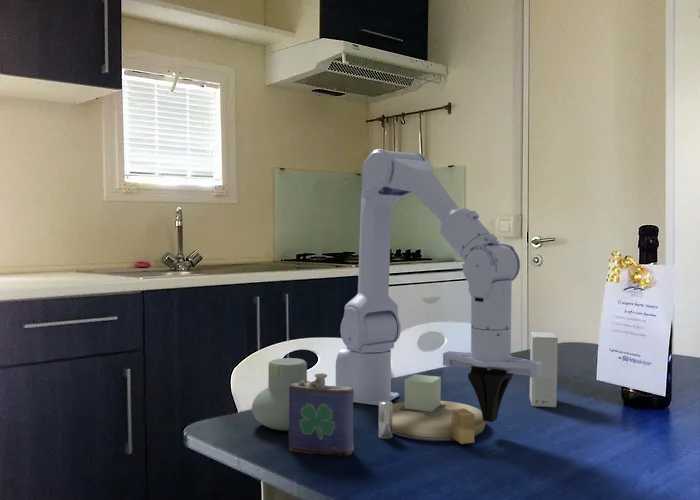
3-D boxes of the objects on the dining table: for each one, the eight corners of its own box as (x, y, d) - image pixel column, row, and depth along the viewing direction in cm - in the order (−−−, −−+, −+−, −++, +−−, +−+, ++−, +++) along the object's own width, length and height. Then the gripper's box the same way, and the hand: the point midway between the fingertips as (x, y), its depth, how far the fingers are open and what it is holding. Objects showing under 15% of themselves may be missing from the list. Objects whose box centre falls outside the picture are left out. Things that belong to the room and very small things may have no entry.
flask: (355, 450, 91) (355, 373, 91) (349, 458, 88) (349, 377, 88) (292, 444, 94) (291, 369, 93) (284, 451, 91) (284, 373, 90)
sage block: (404, 408, 105) (404, 380, 105) (414, 401, 109) (414, 374, 109) (431, 411, 103) (431, 382, 103) (440, 404, 107) (440, 376, 107)
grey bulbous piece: (297, 413, 109) (297, 353, 109) (332, 424, 103) (332, 360, 103) (242, 427, 102) (242, 362, 101) (276, 439, 96) (276, 370, 95)
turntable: (362, 429, 99) (362, 402, 99) (403, 402, 114) (403, 379, 113) (471, 445, 92) (471, 416, 91) (499, 414, 106) (499, 390, 106)
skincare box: (557, 408, 113) (558, 337, 112) (531, 406, 114) (532, 336, 113) (553, 399, 119) (554, 332, 118) (529, 397, 119) (529, 331, 119)
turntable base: (361, 435, 98) (361, 401, 98) (403, 406, 113) (403, 377, 113) (464, 451, 91) (464, 414, 91) (494, 418, 106) (495, 387, 106)
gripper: (433, 326, 98) (433, 417, 98) (529, 335, 89) (528, 435, 90) (454, 320, 104) (454, 407, 104) (547, 329, 95) (546, 423, 96)
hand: (490, 419), depth 97 cm, fingers closed
